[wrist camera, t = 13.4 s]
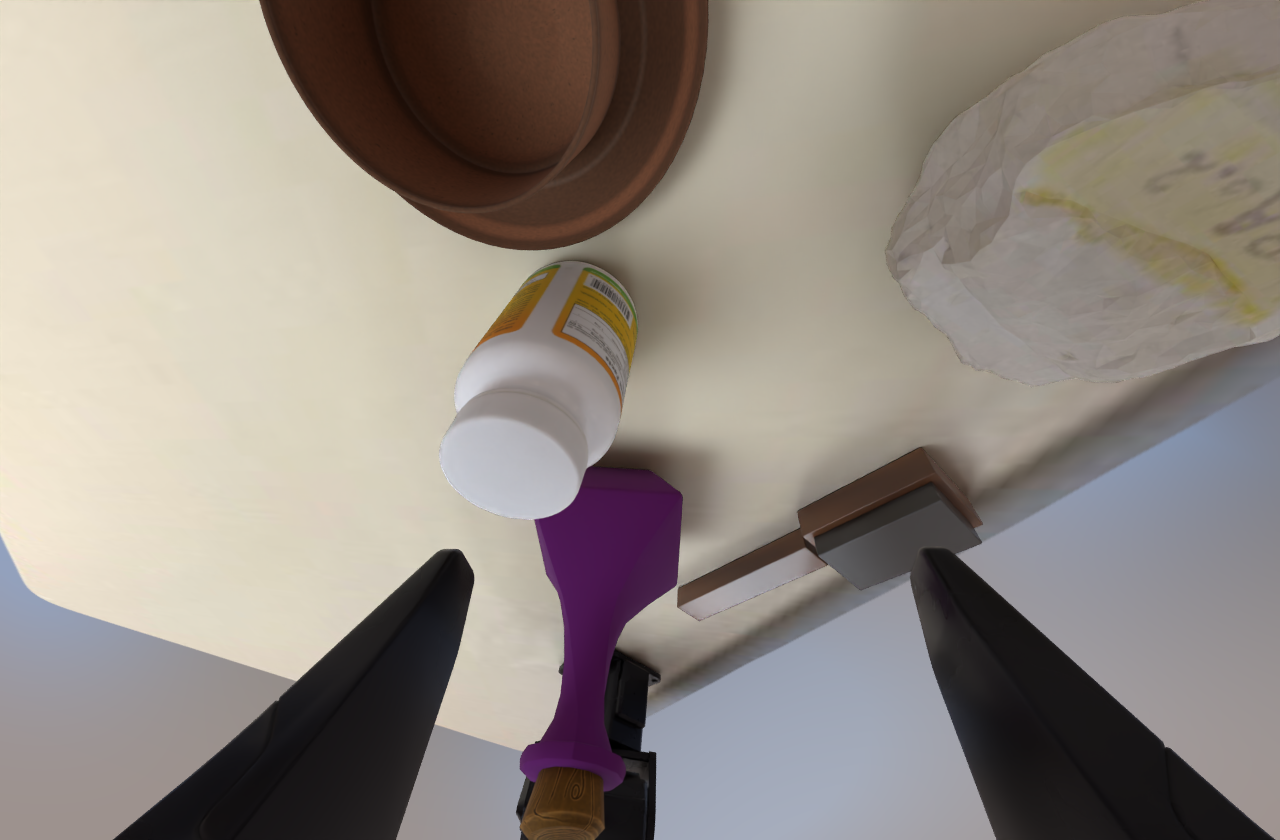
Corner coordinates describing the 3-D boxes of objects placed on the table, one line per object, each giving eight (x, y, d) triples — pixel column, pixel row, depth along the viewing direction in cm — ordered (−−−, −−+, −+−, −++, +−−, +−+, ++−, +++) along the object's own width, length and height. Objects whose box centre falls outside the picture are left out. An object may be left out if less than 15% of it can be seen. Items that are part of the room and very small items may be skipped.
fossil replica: (1117, 345, 19) (1311, 31, 14) (1381, 477, 12) (1977, -50, 7) (821, 338, 19) (899, 21, 14) (917, 465, 12) (1149, -69, 7)
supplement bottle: (522, 364, 23) (432, 525, 15) (512, 250, 19) (388, 382, 12) (635, 377, 22) (602, 547, 15) (644, 265, 19) (608, 408, 11)
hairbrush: (711, 610, 34) (712, 652, 31) (663, 579, 32) (661, 621, 30) (967, 497, 25) (995, 544, 23) (921, 446, 23) (946, 491, 21)
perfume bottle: (678, 539, 29) (660, 994, 15) (560, 531, 30) (435, 960, 16) (684, 448, 25) (666, 977, 11) (544, 440, 25) (350, 930, 11)
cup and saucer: (316, 142, 17) (170, 177, 13) (324, -430, 10) (-6, -855, 5) (615, 285, 20) (588, 362, 15) (790, -104, 13) (848, -201, 8)
